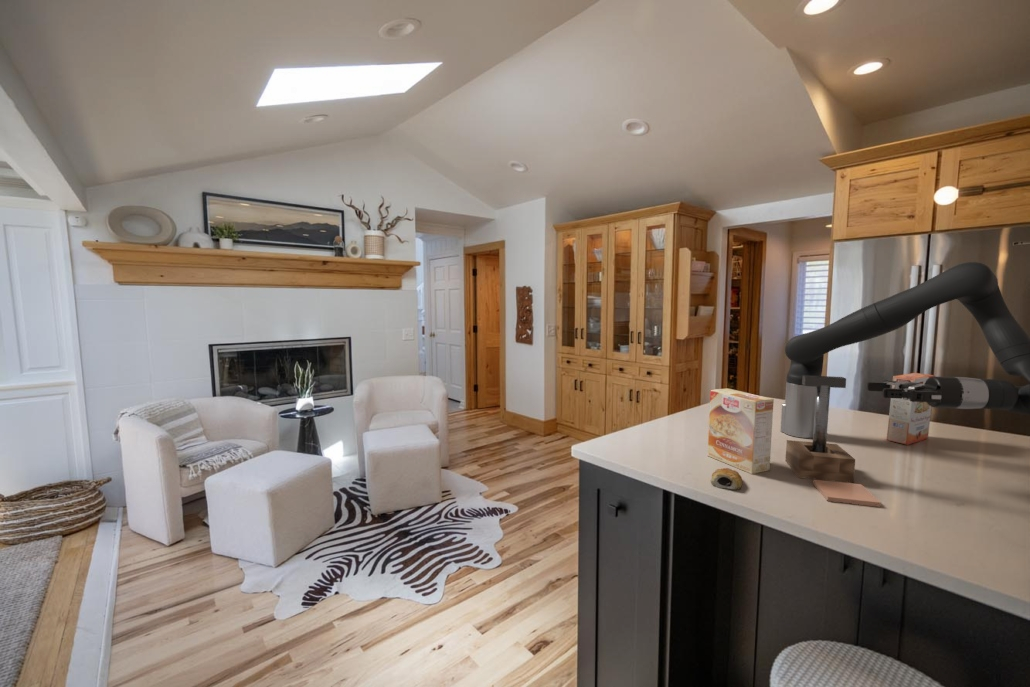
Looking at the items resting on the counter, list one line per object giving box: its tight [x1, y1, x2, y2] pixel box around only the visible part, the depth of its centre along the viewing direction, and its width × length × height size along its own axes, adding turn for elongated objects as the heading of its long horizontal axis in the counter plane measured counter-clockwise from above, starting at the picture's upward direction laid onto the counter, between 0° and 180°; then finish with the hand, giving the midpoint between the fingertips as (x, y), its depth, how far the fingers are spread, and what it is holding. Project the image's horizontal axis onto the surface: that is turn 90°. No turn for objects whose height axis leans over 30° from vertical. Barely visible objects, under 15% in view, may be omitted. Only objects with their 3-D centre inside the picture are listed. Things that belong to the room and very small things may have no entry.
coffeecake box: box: [707, 387, 775, 475], centre depth 125 cm, size 15×7×20 cm, turn 23°
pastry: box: [710, 467, 743, 491], centre depth 113 cm, size 9×7×4 cm
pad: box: [812, 479, 882, 508], centre depth 106 cm, size 10×10×1 cm
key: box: [802, 375, 847, 453], centre depth 118 cm, size 9×4×23 cm, turn 73°
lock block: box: [785, 439, 856, 484], centre depth 120 cm, size 12×12×6 cm
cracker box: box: [886, 372, 935, 446], centre depth 144 cm, size 14×6×21 cm, turn 118°
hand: (875, 389), depth 114 cm, fingers open, 8 cm apart
